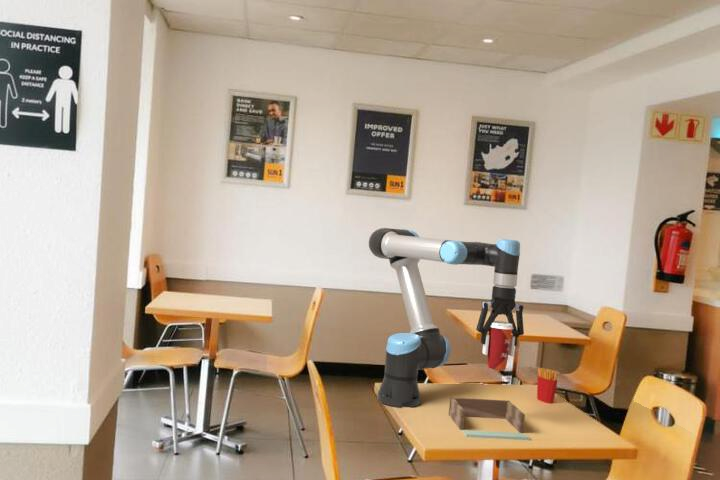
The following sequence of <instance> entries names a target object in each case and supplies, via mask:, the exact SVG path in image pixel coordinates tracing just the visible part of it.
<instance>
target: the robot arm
mask: <svg viewBox="0 0 720 480" xmlns="http://www.w3.org/2000/svg"><path fill="white" fill-rule="evenodd" d="M368 248H369V251H370V252H371V253H372V254H373V255H374V256H375V257H377V258H379V259H383V260H384V259H385V260H389V264H390V267H391V268H392V269H394V270H395V272H396V276H397V279H398V280H397V281H398V284H399V288H400V291H401V296H402V300H403V303H404V304H403V305H404V307H405V312H406V315H407V319H408V324H409V326H410V331H409V332H400V333H394V334H391V335H390V336H389V337H388V339H387V342H386V343H387V345H386V347H385V364H384V373H383V374H384V376H383V379H382V382H381V384H380V386H379V389H378V390H377V391H378V392H377V396H376V397H377V398H376V399H377V401H378V402H379V403H381V404H384V405H387V406H390V407H396V408H414V407H415V408H416V407H418V406H419V405H420V404H421V392H420V389H419V385H418V384H419V383H418V374H419V370H420V371H421V370H425V369H436V368H438V367H442V366H444V364H446V363H447V362H448V360H449V358H450V355H451V345H450V344H451V343H450V342H449V340H448V338H446V337H445V335H442V334H441V332H440V328H439V326H437V325H435V324H434V322H433V318H432V314H431V310H430V307H429V304H428V299H427V296H426V292H425V288H424V284H423V281H422V276H421V272H420V269H419V266H418V263H419V262H420V261H421V260H427V261H433V262H440V263H441V262H442V263H445V264H449V265H453V266H454V265H467V266H468V265H472V266H475V265H476V266H489V267H492V268H493V267H494V271H493V272H494V273H493V283H492V284H493V286H492V289H491V290H492V291H491V299H490V301H487V302H485V301H482V302H481V312H480V315H479V318H478V322H477V325H476V331H477V332H479V333H480V334H481V335H480V337H481V338H480V344H482V354H483V355H485V356H488V344H489V329H490V328H491V326H492V323H493V322H494V321H496V318H498V316H499V315H504V316H505V317H506V318H507V322H508V323H510V324H512V326H513V329H512V334H511V341H510V347H509V353H508V356H510V357H514V354H515V353H514V352H515V347H517V345H518V339H519V337H520V336H524V334H525V333H524V331H525V330H524V319H523V311H524V305H522V304H518V303H516V301H515V300H516V295H517V289H516V288H515V287H517V283H518V274H519V273H518V271H519V270H518V269H519V263H520V256H521V242H520V241H519V240H514V239H505V238H504V239H503V238H498V239H497V241H496V243H487V242H480V241H462V240H461V241H459V240H450V239H439V238H432V237H431V238H429V237H423V236H422V237H421V236H420V235H419V234H418V233H417V232H415V231H414V230H409V229H406V228H401V229H400V228H387V227H382V228H378V229H376V230H375V231H374V232H372V234H371V235H370V236H369V239H368ZM490 307H491V309H492V310H491V311H490V314H489V317H488V318H487V316H488V312H489V309H490ZM513 310H515V317H516V323H515V320H514V319H515V318H514V315H513V314H514V313H513ZM486 319H487V320H486Z"/></svg>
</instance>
